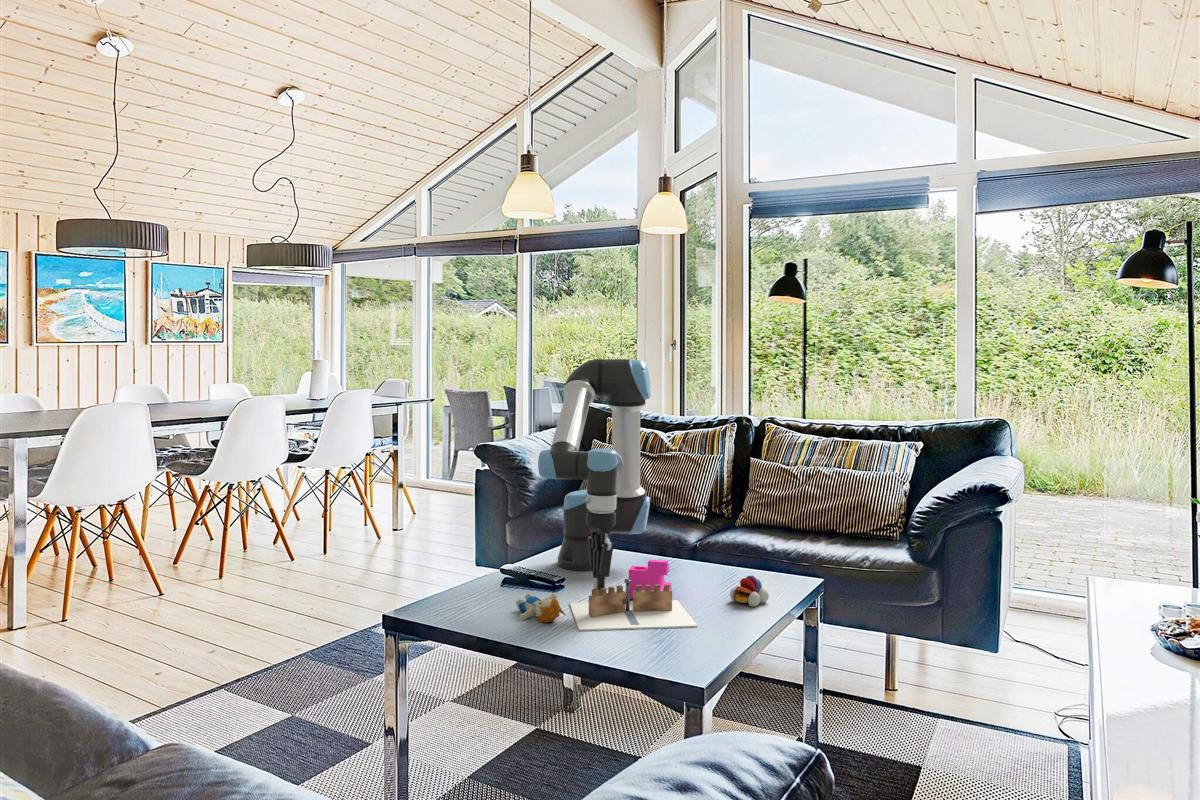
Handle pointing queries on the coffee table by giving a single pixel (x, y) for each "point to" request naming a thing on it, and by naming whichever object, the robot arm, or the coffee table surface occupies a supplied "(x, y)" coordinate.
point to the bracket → (649, 575)
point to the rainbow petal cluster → (749, 592)
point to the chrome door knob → (628, 593)
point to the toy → (539, 608)
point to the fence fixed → (652, 598)
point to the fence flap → (607, 601)
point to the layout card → (632, 618)
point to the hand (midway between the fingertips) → (598, 601)
